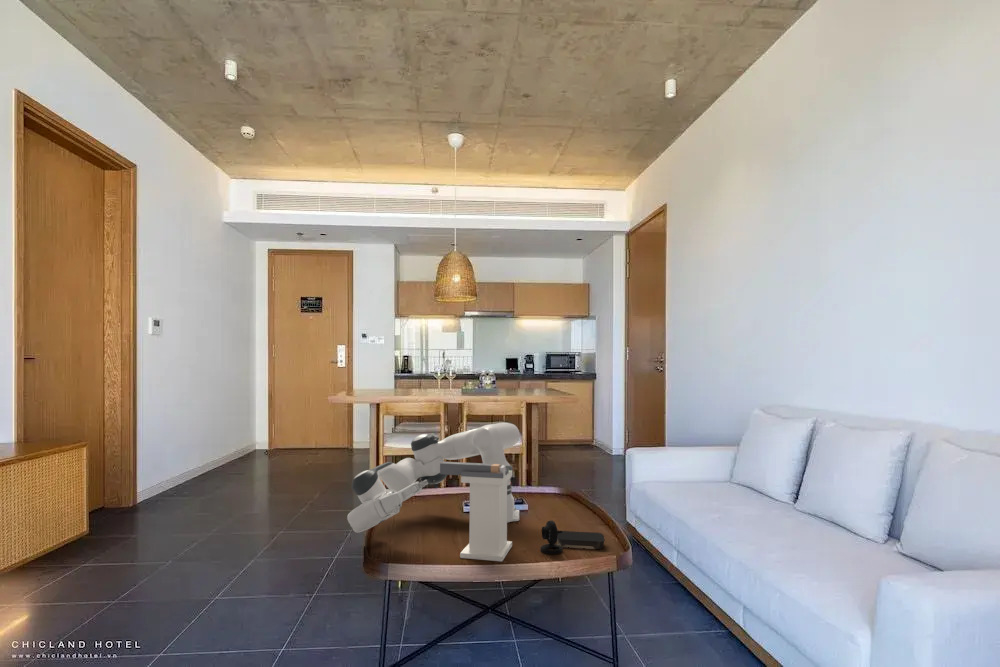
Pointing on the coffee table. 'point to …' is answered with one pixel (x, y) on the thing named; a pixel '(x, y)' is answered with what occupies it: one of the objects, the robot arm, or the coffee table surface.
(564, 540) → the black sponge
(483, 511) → the tester stand
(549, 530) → the webcam
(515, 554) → the coffee table surface
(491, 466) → the long grey square bar
